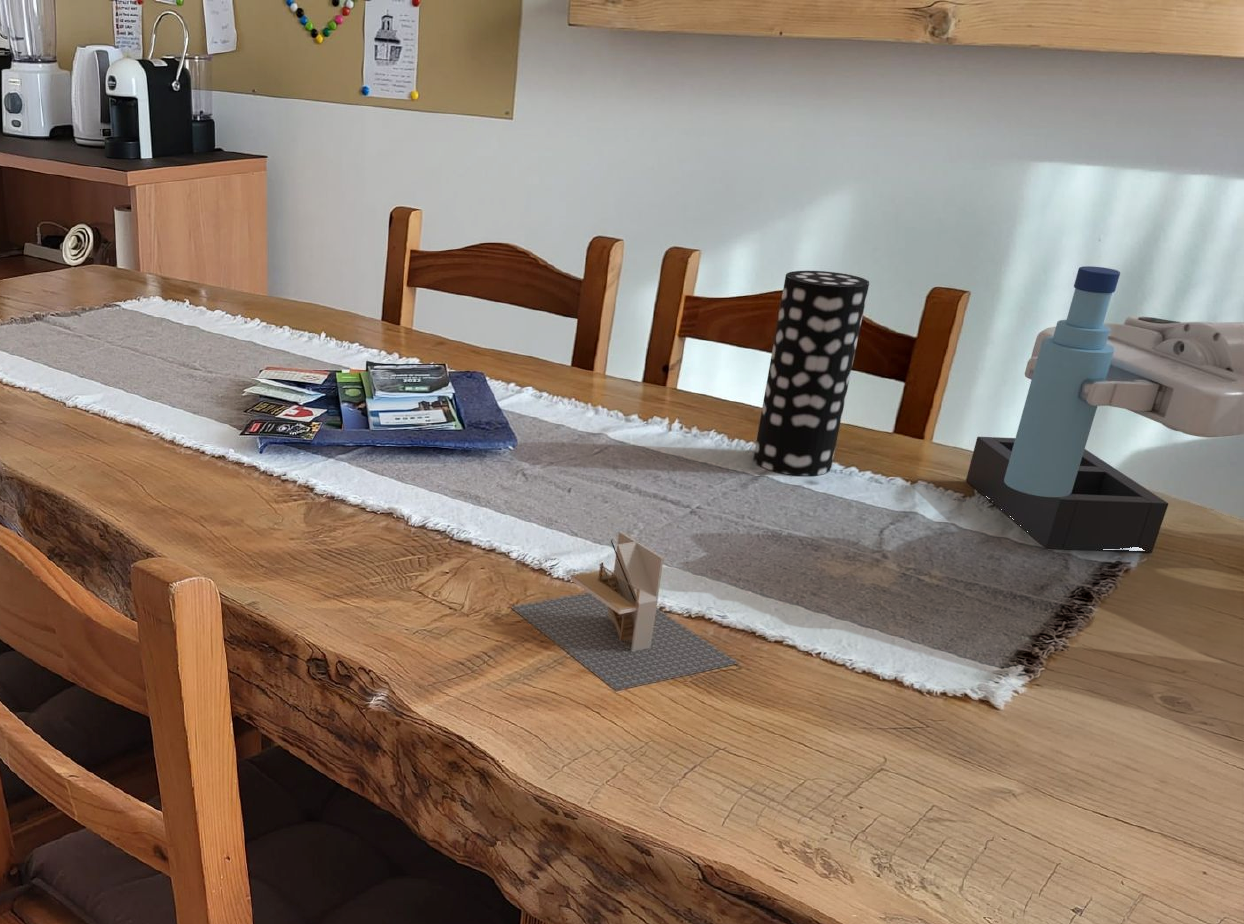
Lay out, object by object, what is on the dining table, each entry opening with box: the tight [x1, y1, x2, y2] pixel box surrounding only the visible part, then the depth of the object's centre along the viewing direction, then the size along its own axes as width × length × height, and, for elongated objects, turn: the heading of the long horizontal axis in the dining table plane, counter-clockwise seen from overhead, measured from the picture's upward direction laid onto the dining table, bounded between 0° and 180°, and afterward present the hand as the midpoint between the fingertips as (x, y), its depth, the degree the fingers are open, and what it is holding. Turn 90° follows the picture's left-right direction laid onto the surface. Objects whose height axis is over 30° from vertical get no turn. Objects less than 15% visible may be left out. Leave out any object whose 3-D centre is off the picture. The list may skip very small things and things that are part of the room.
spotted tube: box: [752, 270, 870, 477], centre depth 134 cm, size 8×8×20 cm
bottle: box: [1004, 265, 1121, 497], centre depth 101 cm, size 5×5×18 cm
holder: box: [965, 436, 1169, 554], centre depth 126 cm, size 10×19×5 cm, turn 0°
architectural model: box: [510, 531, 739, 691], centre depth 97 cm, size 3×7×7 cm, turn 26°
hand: (1057, 380), depth 101 cm, fingers closed on bottle, 5 cm apart
